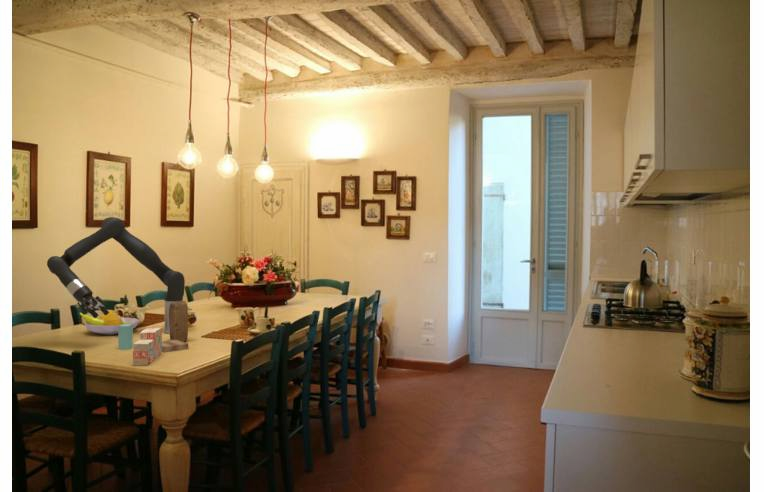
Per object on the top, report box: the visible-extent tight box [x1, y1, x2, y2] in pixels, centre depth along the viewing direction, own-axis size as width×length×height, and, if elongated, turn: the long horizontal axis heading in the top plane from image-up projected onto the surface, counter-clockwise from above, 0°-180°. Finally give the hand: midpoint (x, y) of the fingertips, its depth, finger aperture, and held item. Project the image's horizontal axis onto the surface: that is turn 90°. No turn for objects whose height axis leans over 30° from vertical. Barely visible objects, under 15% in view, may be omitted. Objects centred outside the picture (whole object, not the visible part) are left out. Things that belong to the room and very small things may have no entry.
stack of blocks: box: [132, 327, 163, 366], centre depth 248 cm, size 21×6×12 cm, turn 7°
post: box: [117, 324, 134, 351], centre depth 267 cm, size 4×4×11 cm
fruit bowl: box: [78, 310, 140, 336], centre depth 305 cm, size 28×27×11 cm
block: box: [169, 300, 189, 343], centre depth 286 cm, size 11×8×20 cm
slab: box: [162, 340, 189, 354], centre depth 270 cm, size 12×12×3 cm
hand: (102, 315), depth 268 cm, fingers open, 8 cm apart
